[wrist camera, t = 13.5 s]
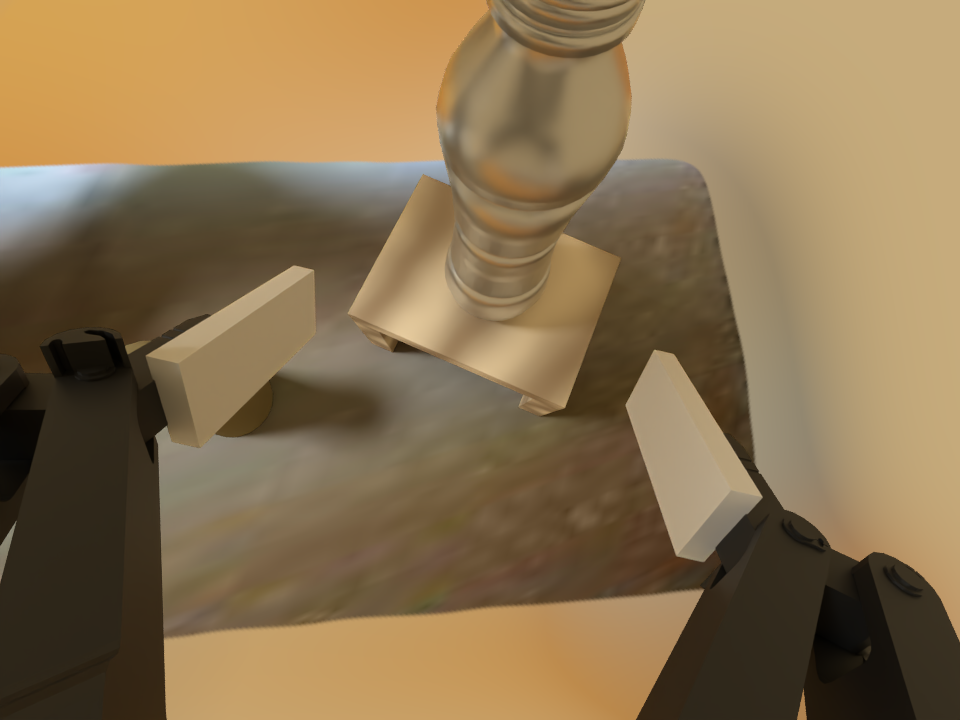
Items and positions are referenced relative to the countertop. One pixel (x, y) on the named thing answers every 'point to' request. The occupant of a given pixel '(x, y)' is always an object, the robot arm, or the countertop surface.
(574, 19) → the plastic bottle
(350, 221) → the countertop surface
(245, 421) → the cork
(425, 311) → the birch shelf
